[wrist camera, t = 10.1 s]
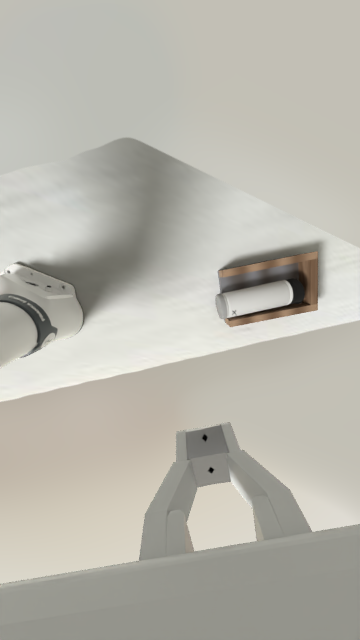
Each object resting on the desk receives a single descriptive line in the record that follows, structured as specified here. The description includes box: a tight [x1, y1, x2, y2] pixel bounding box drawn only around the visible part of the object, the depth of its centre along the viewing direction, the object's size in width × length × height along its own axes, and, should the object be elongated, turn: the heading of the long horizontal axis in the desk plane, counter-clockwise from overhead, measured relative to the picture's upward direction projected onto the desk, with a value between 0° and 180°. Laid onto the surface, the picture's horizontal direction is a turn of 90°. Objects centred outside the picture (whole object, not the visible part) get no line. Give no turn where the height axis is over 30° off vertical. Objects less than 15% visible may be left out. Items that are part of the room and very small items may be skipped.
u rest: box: [218, 251, 318, 327], centre depth 44 cm, size 22×14×5 cm, turn 101°
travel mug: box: [216, 278, 305, 319], centre depth 43 cm, size 6×7×20 cm
